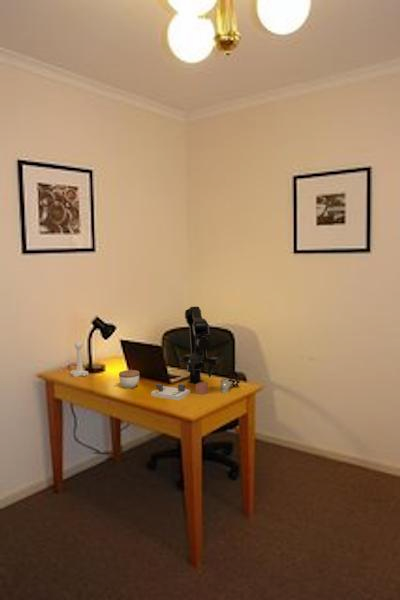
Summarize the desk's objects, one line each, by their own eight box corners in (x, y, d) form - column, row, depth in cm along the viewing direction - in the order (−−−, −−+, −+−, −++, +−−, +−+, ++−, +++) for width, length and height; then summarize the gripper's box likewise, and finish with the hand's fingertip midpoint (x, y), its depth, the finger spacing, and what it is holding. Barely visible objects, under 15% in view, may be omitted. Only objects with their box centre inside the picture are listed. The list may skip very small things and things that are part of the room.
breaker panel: (162, 389, 241) (162, 383, 241) (189, 393, 234) (189, 387, 234) (150, 396, 232) (150, 389, 231) (178, 400, 224) (178, 393, 224)
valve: (228, 394, 232) (240, 388, 242) (228, 381, 232) (239, 375, 242) (217, 392, 236) (229, 386, 246) (216, 379, 235) (228, 374, 245)
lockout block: (199, 391, 238) (199, 381, 237) (207, 392, 236) (207, 382, 235) (195, 394, 234) (195, 384, 233) (203, 395, 232) (203, 385, 231)
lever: (179, 389, 234) (179, 383, 234) (184, 390, 233) (184, 384, 232) (178, 390, 233) (177, 384, 232) (183, 391, 231) (183, 385, 231)
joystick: (89, 374, 273) (88, 341, 270) (81, 378, 266) (79, 343, 264) (75, 372, 278) (73, 339, 275) (66, 376, 271) (64, 342, 269)
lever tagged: (158, 389, 235) (157, 383, 234) (163, 390, 233) (163, 384, 233) (156, 390, 233) (156, 384, 233) (161, 391, 232) (161, 385, 232)
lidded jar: (115, 388, 246) (114, 370, 245) (128, 382, 255) (127, 366, 254) (131, 391, 241) (130, 373, 240) (143, 385, 250) (143, 368, 249)
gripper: (176, 347, 229) (177, 378, 231) (210, 350, 221) (211, 382, 223) (187, 343, 239) (188, 372, 241) (220, 346, 231) (220, 376, 233)
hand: (201, 376), depth 234 cm, fingers open, 9 cm apart
